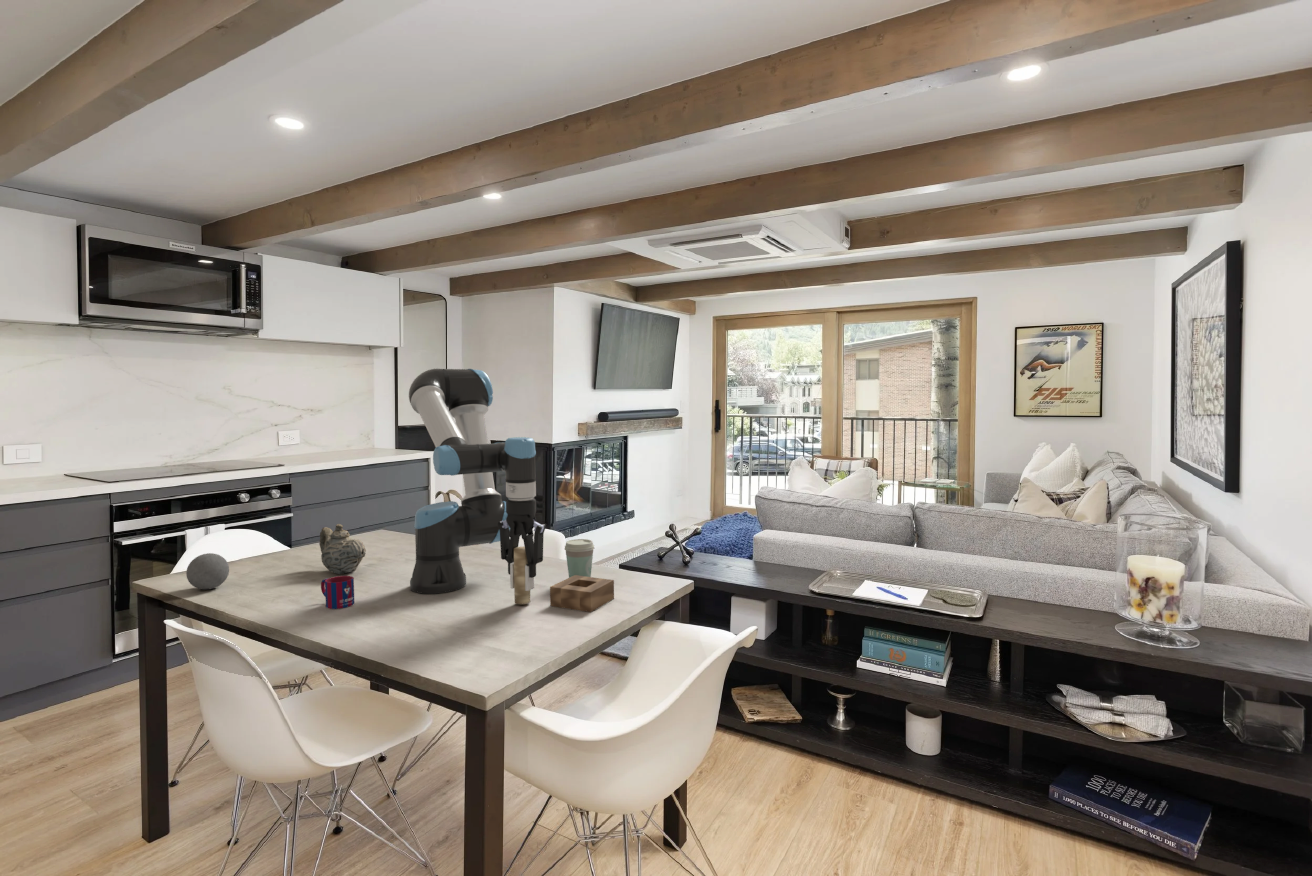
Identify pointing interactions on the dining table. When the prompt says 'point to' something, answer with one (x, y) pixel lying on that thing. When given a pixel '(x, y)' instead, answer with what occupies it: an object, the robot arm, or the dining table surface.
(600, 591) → the socket
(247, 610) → the dining table surface
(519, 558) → the peg
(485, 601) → the dining table surface
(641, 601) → the dining table surface
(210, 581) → the decorative ball
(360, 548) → the teapot
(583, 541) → the coffee cup
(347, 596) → the cup
